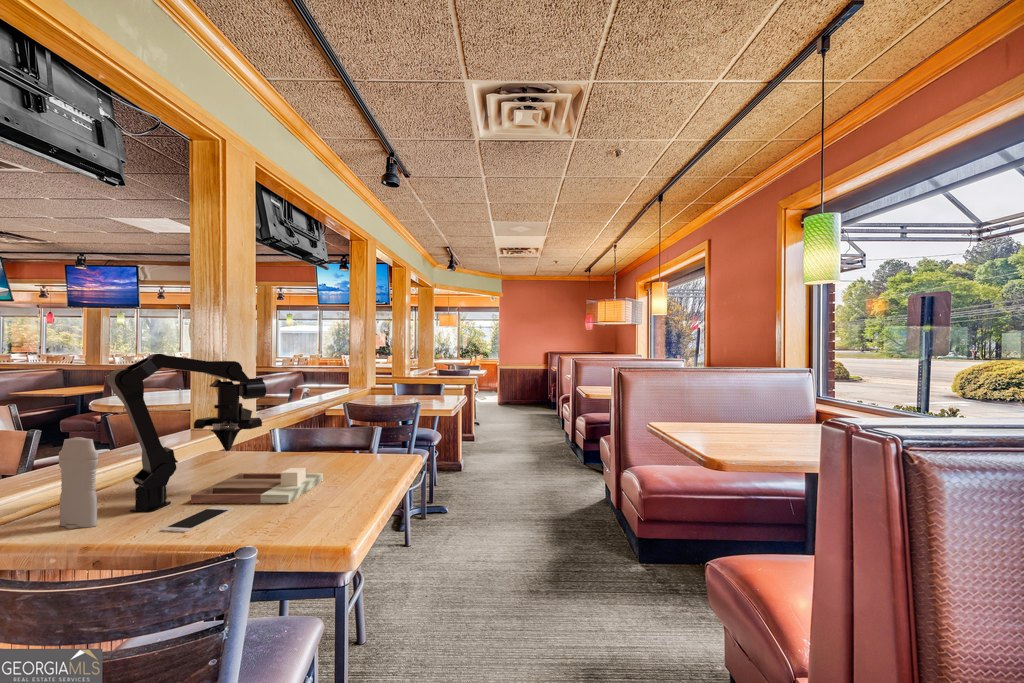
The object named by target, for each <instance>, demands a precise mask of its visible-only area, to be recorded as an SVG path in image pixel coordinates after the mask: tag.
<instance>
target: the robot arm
mask: <svg viewBox="0 0 1024 683" xmlns="http://www.w3.org/2000/svg"><path fill="white" fill-rule="evenodd" d="M162 368H163V369H167V370H168V369H169V370H177V371H186V372H193V373H200V374H201V373H202V374H205V375H208V376H211V377H215V378H217V379H215V380H214V381H213V382H212V383H211V384H209V387H210V388H217V404H214V409H216V410H217V415H216V416H217V417H216V416H215V417H212V416H211V417H209V416H207V417H202V418H198V419H195V420H194V422H193V430H196V429H197V430H203V429H204V428H205V427H212V429H210V432H211V433H212V432H213V434H215V436H216V437H217V439H218V440H219V442H220V444H221V445H222V447H223V449H224V451H225V452H229V451H231V449H232V447H233V445H234V442H235V440H236V437H237V436H238V434H239V433H240V432H241V431H242V430H253V429H257V428H260V427H262V426H263V421H262V419H261V418H260V417H252V415H253V414H252V413H253V410H250V409H247V408H244V407H243V402H240V397H241V398H242V399H243V400H254V399H264V398H265V397H266V395H267V386H266V383H265V381H264V378H263V377H255V378H250V377H249V376H248V375H247V374H246V373H245V372H244V370H243V366H242V364H241V363H240V362H239V361H235V360H202V359H194V358H189V357H188V358H187V357H182V356H181V357H179V356H175V355H168V354H164V353H151V354H150V355H148V356H147V357H145V358H143V359H141V360H139V361H137V362H135V363H132V364H130V365H128V366H127V367H125V368H117V369H114V370H113V371H111V372H110V373H109V375H108V376H107V377H106V380H107V384H108V386H109V387H110V388H111V390H112V391H113V393H114V394H115V395H116V397H117V398H118V399H119V400H120V402H122V404H123V406H124V408H125V411H126V413H127V415H128V418H129V421H130V423H131V426H132V428H133V430H134V433H135V436H136V439H137V440H138V443H139V446H140V448H141V465H142V468H141V469H140V470H139V471H138V472H137V473H136V474H135V475H133V477H132V481H133V483H134V485H136V486H137V488H135V494H134V495H135V501H134V504H135V505H134V507H133V508H130V509H129V512H154V511H156V510H159V509H161V508H163V507H166V506H168V505H170V504H171V503H172V501H168V500H167V485H168V482H169V480H170V478H171V477H172V476H173V475H174V473H175V472H176V470H177V464H178V463H179V461H178V460H177V459H176V457H175V453H174V452H175V450H174V449H173V448H169V447H167V446H163V445H162V443H161V441H160V438H159V435H158V433H157V429H156V427H155V425H154V423H153V420H152V417H151V415H150V412H149V409H148V407H147V405H146V402H145V398H144V396H145V395H144V394H145V385H144V380H146V379H148V378H149V377H151V376H152V375H154V374H155V373H157V371H159V370H161V369H162ZM222 379H223V380H224V381H222ZM225 380H226V381H225ZM234 382H237V383H234Z"/></svg>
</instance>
